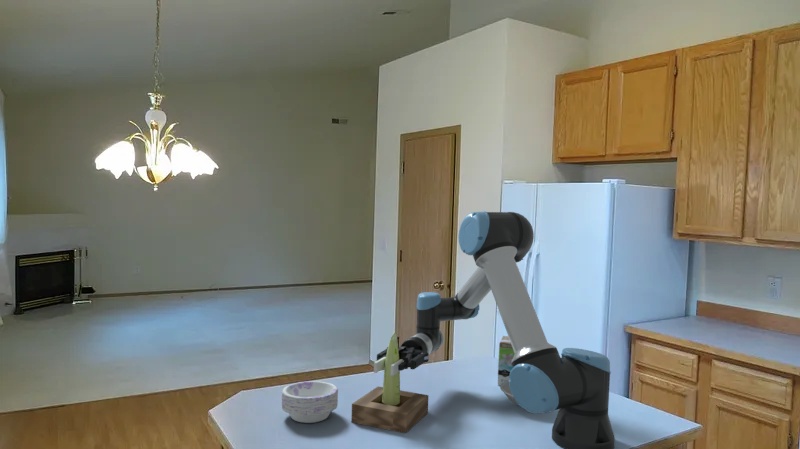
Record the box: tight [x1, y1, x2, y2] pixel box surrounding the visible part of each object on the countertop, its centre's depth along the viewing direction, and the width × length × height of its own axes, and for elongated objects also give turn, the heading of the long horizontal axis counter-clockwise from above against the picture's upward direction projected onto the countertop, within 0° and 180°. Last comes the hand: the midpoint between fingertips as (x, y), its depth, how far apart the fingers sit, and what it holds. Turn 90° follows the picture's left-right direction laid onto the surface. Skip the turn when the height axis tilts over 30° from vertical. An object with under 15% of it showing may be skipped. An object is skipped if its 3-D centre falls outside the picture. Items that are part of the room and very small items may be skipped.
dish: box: [499, 381, 520, 406], centre depth 164 cm, size 18×14×5 cm
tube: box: [382, 331, 401, 406], centre depth 152 cm, size 6×5×20 cm
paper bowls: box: [281, 380, 339, 424], centre depth 152 cm, size 15×15×8 cm
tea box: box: [497, 335, 515, 386], centre depth 184 cm, size 15×10×15 cm, turn 73°
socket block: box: [351, 386, 429, 434], centre depth 153 cm, size 16×16×5 cm
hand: (383, 369), depth 148 cm, fingers closed on tube, 4 cm apart
